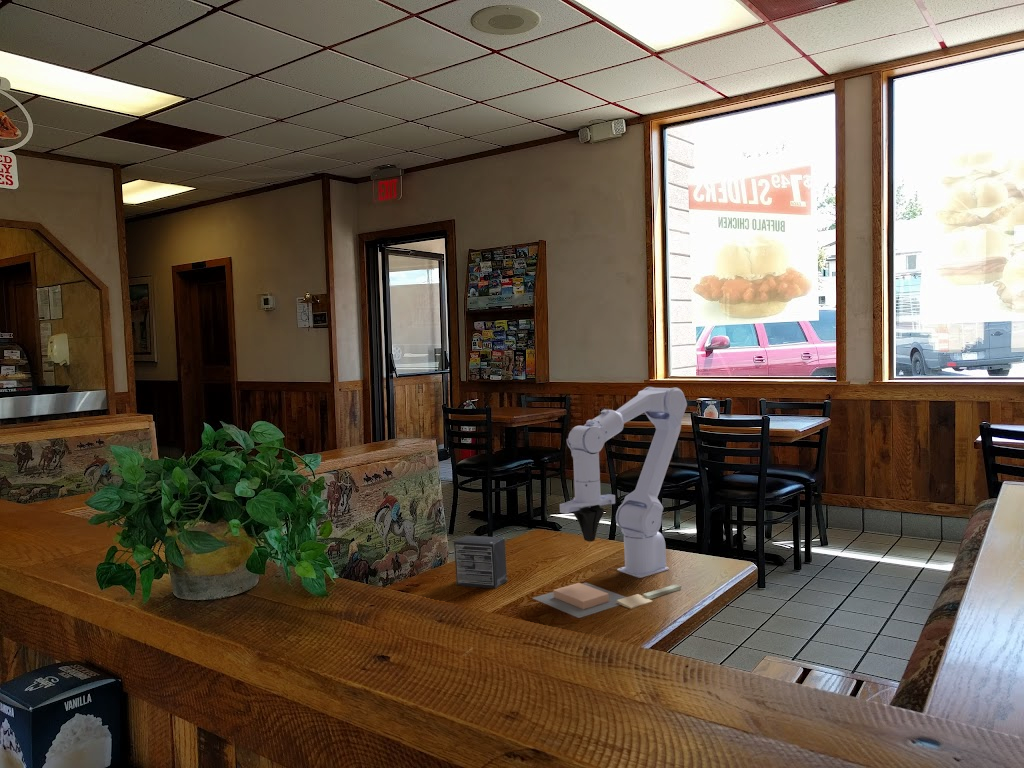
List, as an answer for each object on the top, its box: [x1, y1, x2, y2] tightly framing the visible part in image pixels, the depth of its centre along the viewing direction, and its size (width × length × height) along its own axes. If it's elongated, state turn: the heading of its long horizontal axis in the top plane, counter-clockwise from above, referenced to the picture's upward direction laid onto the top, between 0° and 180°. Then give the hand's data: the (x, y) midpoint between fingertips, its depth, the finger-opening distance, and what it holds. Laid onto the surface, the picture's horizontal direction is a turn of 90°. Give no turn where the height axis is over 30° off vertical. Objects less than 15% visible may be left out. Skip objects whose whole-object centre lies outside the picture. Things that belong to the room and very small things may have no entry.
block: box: [552, 582, 609, 609], centre depth 165 cm, size 2×10×7 cm
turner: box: [617, 583, 682, 610], centre depth 165 cm, size 16×4×1 cm, turn 124°
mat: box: [532, 582, 627, 619], centre depth 166 cm, size 15×16×1 cm
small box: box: [453, 535, 508, 589], centre depth 181 cm, size 11×6×10 cm, turn 65°
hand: (589, 540), depth 174 cm, fingers closed
